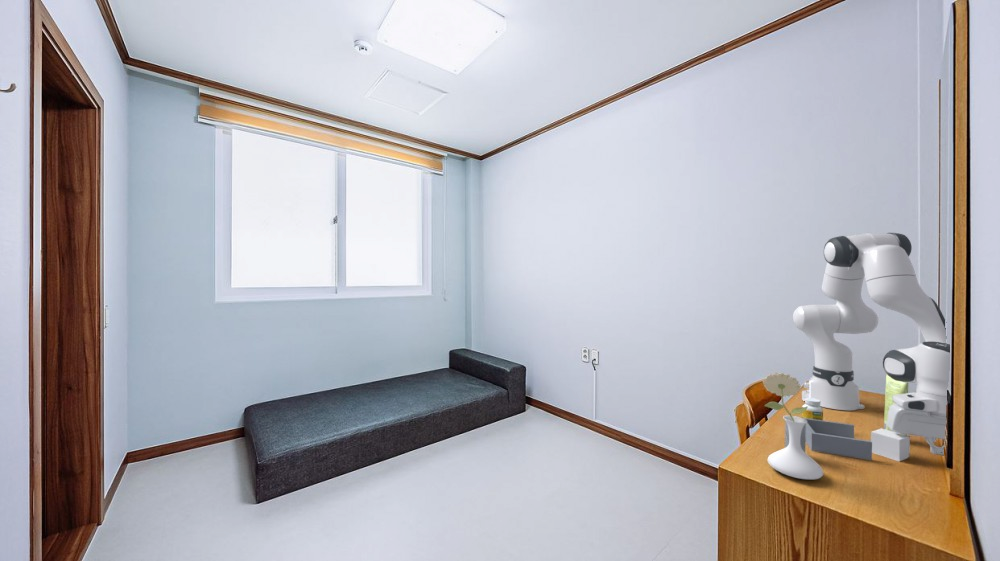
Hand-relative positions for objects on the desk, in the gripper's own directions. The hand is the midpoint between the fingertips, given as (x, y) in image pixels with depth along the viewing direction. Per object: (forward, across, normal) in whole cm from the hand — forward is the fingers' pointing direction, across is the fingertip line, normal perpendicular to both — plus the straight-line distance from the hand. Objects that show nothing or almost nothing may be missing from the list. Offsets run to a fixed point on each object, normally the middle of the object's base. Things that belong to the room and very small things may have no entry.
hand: (939, 454), depth 103 cm
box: (+2, +22, 0) cm, 22 cm away
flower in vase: (+2, +37, +24) cm, 44 cm away
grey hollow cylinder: (+2, +34, +13) cm, 36 cm away
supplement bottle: (+2, +24, -13) cm, 28 cm away
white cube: (+2, +10, 0) cm, 10 cm away
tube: (+2, +4, -14) cm, 15 cm away
